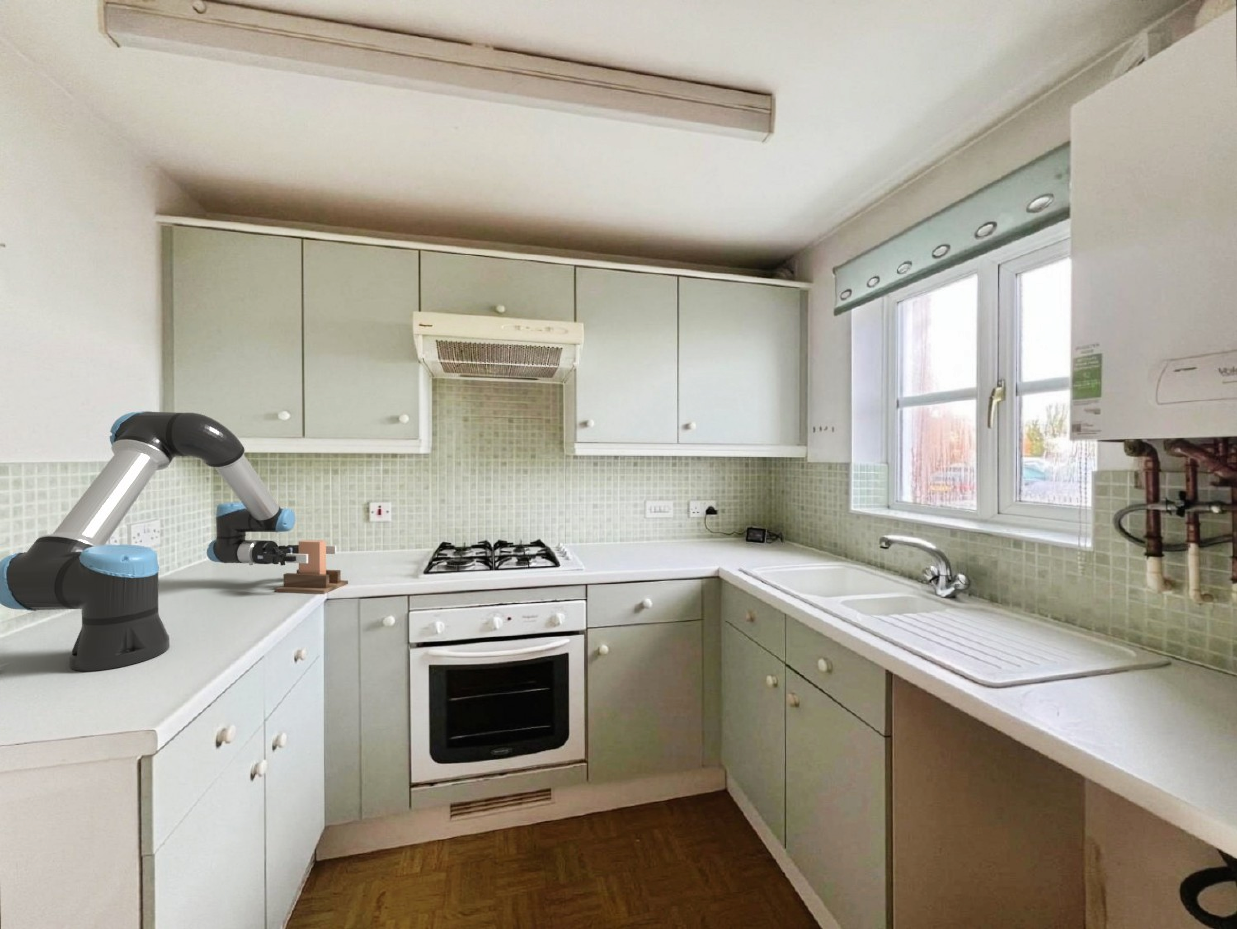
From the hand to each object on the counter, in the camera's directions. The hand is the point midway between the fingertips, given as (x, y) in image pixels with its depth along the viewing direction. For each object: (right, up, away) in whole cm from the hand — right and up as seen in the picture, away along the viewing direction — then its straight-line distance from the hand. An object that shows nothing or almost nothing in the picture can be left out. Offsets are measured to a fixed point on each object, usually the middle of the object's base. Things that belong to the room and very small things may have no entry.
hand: (322, 554), depth 160 cm
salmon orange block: (-3, -10, +1) cm, 10 cm away
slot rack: (-3, -11, +1) cm, 11 cm away
